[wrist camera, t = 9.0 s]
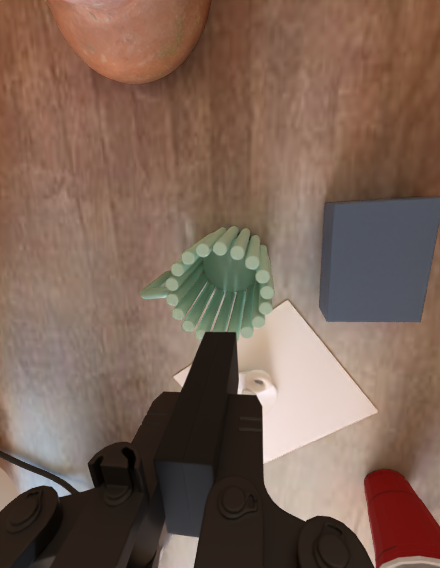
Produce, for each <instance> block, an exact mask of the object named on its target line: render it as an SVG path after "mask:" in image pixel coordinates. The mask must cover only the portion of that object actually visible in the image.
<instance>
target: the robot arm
mask: <svg viewBox="0 0 440 568" xmlns="http://www.w3.org/2000/svg"><path fill="white" fill-rule="evenodd" d="M238 384H239V372H238V354H237V335H236V332H205V334H204V336H203V339H202V341H201V344H200V346H199V348H198V351H197V353H196V356H195V358H194V361H193V363H192V366H191V368H190V370H189V373H188V375H187V378H186V380H185V383H184V385H183V388H182V390H181V392H163V393H162V394H160V395H159V396H158V397H157V398H156V399H155V400H154V401H153V403H152V405H151V406H150V408H149V410H148V412H147V415H146V416H145V418H144V420H143V422H142V425H140V427H139V429H138V431H137V433H136V435H135V437H134V439H133V441H132V443H129V442H118V443H114V444H112V445H109V446H107V447H105V448H103V449H102V450H101V451H99V452H98V453H96V454H95V455H94V457H93V458H92V459H91V460H90V461H89V462H88V467H89V470H90V474H91V477H92V481H93V484H94V487H95V488H93V489H90V490H87V491H84V492H78V491H77V490H76V489H75V488H73V487H72V486H71V485H70V484H68V483H67V482H66V481H64V480H63V479H61V478H59V477H57V476H55V475H53V474H51V473H49V472H47V471H45V470H42V469H40V468H37V467H35V466H32V465H30V464H27V463H25V462H23V461H20V460H18V459H16V458H14V457H12V456H10V455H8V454H6V453H4V452H2V451H0V457H1V458H3V459H5V460H7V461H9V462H11V463H13V464H15V465H17V466H20V467H22V468H24V469H27V470H29V471H32V472H34V473H37V474H39V475H42V476H44V477H46V478H49V479H51V480H53V481H54V482H56V483H58V484H60V485H61V486H63V487H64V488H65V489H66V490H68V491H69V492H70V493H71V494H72V495H68V496H63V497H58V494H57V492H56V491H55V490H54V489H53V488H52V487H49V486H39V487H35V488H32V489H30V490H28V491H26V492H24V493H22V494H20V495H19V496H18V497H17V498H15V499H14V500H13V501H11V502H10V503H9V504H8V505H7V506H6V507H5V508H4V509H3V510H2V511H1V512H0V568H158V564H159V563H160V561H161V559H162V553H163V551H164V549H165V547H166V546H167V544H168V542H169V540H170V538H171V535H172V534H177V535H184V536H192V537H199V542H198V547H197V553H196V558H195V564H194V568H374V566H373V564H372V562H371V560H370V558H369V556H368V554H367V552H366V550H365V548H364V546H363V545H362V543H361V542H360V540H359V539H358V537H357V536H356V534H355V533H354V532H352V531H351V530H350V529H349V528H348V527H347V526H346V525H345V524H344V523H342V522H340V521H338V520H336V519H334V518H331V517H327V516H316V517H313V518H311V519H309V520H307V521H306V522H305V521H303V520H301V519H299V518H297V517H295V516H293V515H291V514H289V513H287V512H286V511H284V510H282V509H281V508H279V507H278V506H277V505H276V504H275V503H274V502H273V501H272V499H271V498H270V496H269V494H268V493H267V490H266V488H265V485H264V474H263V415H262V405H261V403H260V401H259V399H258V397H257V395H246V394H237V393H238Z"/></svg>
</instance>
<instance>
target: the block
mask: <svg viewBox="0 0 440 568" xmlns="http://www.w3.org/2000/svg"><path fill="white" fill-rule="evenodd" d="M439 221H440V197H405V198H390V199H375V200H359V201H344V202H328V203H325V204H324V223H323V242H322V262H321V281H320V300H319V307H320V309H321V311H322V313H323V315H324V317H325V319H326V321H327V322H421V318H422V313H423V308H424V302H425V297H426V291H427V286H428V280H429V275H430V270H431V264H432V259H433V253H434V248H435V243H436V237H437V232H438V226H439Z"/></svg>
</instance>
